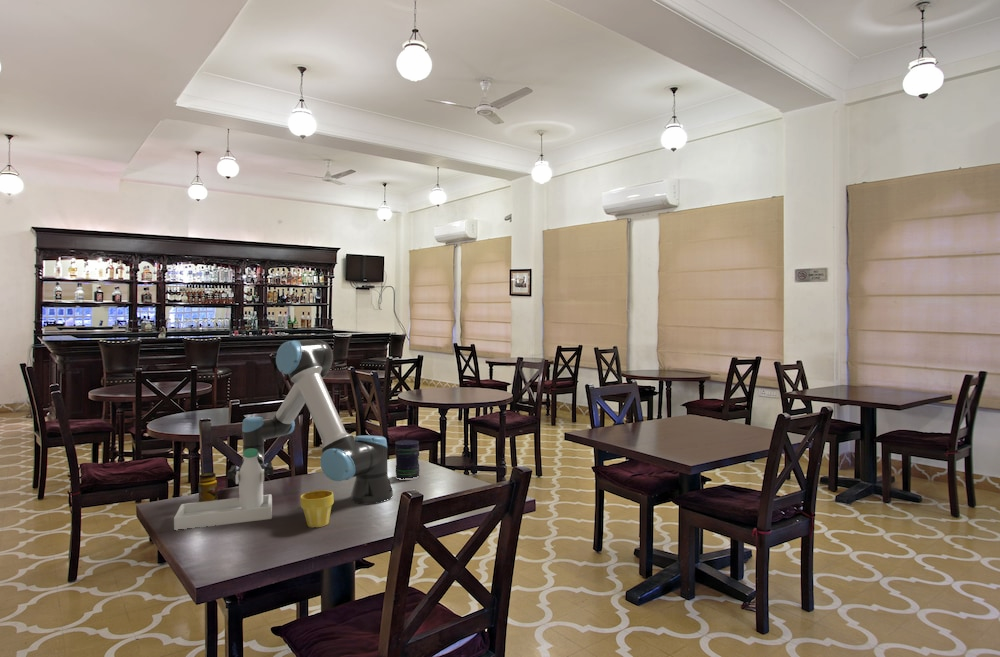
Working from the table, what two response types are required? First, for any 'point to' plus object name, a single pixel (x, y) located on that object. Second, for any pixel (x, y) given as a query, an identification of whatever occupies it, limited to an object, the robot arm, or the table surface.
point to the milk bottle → (250, 481)
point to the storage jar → (407, 458)
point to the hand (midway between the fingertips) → (249, 478)
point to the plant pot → (317, 507)
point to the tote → (220, 513)
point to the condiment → (207, 487)
